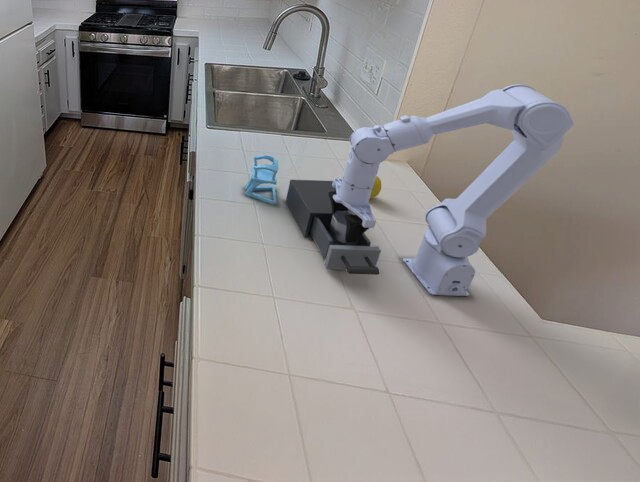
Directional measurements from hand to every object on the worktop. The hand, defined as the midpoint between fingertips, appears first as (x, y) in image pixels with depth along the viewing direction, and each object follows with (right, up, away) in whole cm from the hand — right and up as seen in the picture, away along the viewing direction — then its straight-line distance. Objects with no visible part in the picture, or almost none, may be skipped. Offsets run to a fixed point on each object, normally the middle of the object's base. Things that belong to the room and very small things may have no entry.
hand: (343, 230), depth 87 cm
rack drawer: (0, -6, +1) cm, 6 cm away
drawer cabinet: (0, -2, +13) cm, 13 cm away
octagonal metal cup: (0, -1, 0) cm, 1 cm away
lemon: (+19, +2, +22) cm, 29 cm away
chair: (-11, +2, +23) cm, 26 cm away
